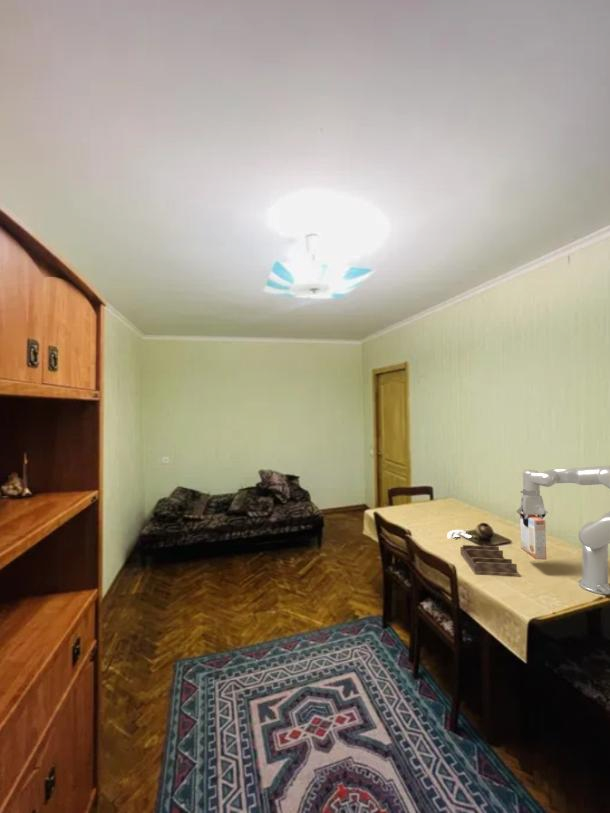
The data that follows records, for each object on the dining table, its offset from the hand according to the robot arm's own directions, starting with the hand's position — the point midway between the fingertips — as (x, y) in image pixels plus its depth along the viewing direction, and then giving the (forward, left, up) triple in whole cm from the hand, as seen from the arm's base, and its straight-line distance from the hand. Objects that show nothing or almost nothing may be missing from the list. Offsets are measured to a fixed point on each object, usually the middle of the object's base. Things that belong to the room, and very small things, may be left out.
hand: (532, 525), depth 183 cm
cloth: (+43, +25, -25) cm, 56 cm away
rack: (+2, +22, -24) cm, 33 cm away
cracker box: (0, 0, -16) cm, 16 cm away
